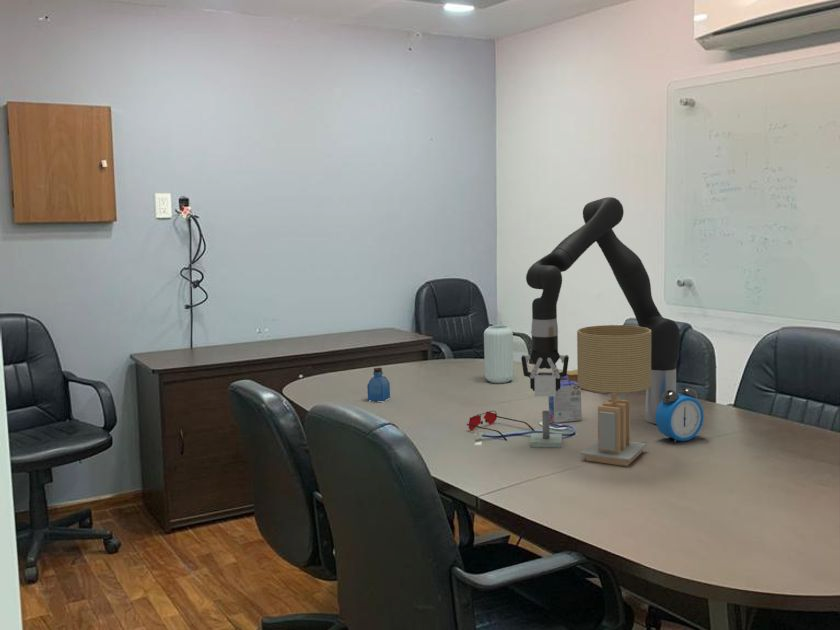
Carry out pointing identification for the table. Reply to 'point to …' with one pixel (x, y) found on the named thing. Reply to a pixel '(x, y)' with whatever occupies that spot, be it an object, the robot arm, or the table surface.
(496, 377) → the vase
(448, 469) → the table surface
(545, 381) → the grey hollow cube
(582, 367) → the desk lamp
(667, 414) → the alarm clock
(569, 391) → the ink cartridge box
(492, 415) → the glasses
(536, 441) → the shaft block
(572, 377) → the book
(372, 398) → the perfume bottle
